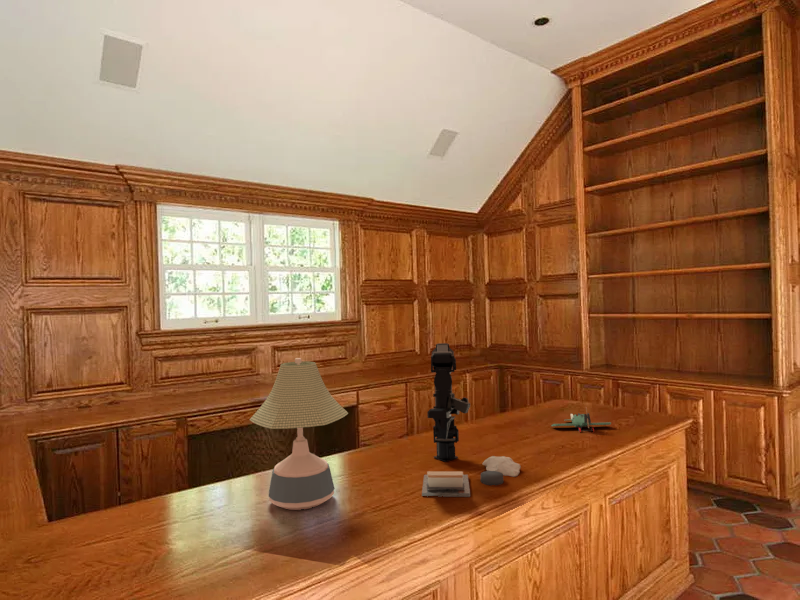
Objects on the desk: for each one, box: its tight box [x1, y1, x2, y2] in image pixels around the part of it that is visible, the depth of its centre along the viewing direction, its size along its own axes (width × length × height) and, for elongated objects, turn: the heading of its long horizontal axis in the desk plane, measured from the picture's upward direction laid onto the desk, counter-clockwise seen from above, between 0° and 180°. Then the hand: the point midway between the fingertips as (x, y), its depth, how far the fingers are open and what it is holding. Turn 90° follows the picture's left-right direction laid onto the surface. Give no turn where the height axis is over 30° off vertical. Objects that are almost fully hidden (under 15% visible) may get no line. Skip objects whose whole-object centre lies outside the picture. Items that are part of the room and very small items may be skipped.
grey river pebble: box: [480, 470, 504, 486], centre depth 157 cm, size 7×7×2 cm
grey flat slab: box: [421, 474, 471, 498], centre depth 153 cm, size 16×14×1 cm
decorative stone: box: [482, 455, 521, 478], centre depth 168 cm, size 11×4×15 cm
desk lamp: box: [249, 357, 349, 511], centre depth 146 cm, size 26×28×42 cm
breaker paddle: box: [426, 470, 464, 489], centre depth 145 cm, size 2×11×11 cm
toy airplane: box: [550, 406, 612, 433], centre depth 221 cm, size 22×25×11 cm
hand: (444, 439), depth 162 cm, fingers closed
